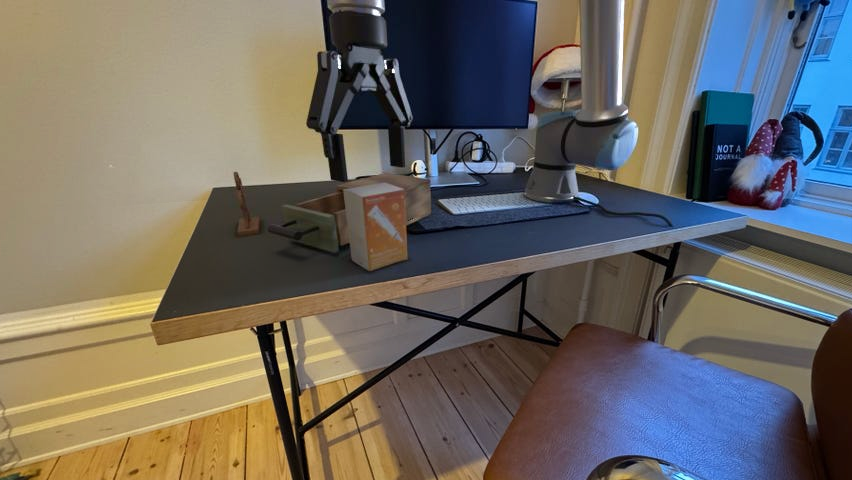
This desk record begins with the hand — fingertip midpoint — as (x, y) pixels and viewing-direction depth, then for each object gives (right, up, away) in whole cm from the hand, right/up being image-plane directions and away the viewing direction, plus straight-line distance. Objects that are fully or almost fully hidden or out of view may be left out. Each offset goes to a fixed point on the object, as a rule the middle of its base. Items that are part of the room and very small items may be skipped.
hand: (371, 173), depth 59 cm
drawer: (-12, -9, +14) cm, 20 cm away
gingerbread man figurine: (-32, -7, +21) cm, 38 cm away
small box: (0, -14, +7) cm, 16 cm away
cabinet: (-3, -3, +28) cm, 28 cm away
